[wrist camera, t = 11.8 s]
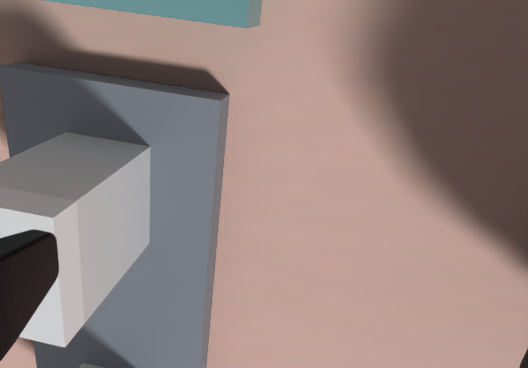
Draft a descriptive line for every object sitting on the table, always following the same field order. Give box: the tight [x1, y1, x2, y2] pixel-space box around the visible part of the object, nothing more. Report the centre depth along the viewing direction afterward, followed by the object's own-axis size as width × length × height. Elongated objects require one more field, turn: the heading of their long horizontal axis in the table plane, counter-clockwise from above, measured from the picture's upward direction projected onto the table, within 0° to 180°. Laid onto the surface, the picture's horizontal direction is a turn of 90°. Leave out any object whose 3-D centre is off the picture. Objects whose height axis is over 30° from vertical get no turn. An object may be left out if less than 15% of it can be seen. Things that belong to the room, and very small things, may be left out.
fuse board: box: [0, 62, 229, 368], centre depth 24 cm, size 10×24×2 cm, turn 173°
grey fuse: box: [0, 132, 151, 347], centre depth 17 cm, size 4×5×7 cm
